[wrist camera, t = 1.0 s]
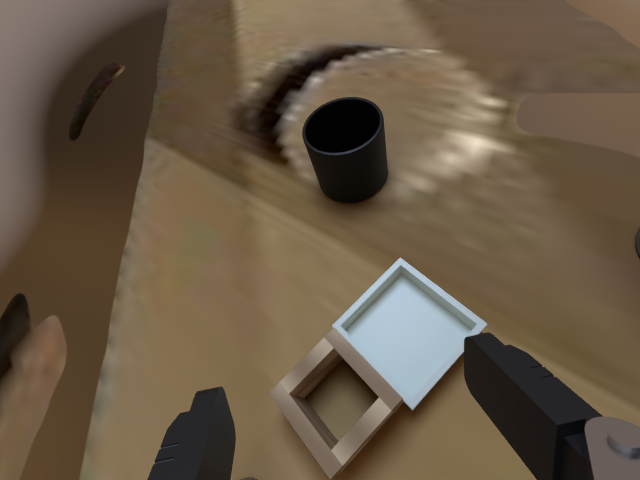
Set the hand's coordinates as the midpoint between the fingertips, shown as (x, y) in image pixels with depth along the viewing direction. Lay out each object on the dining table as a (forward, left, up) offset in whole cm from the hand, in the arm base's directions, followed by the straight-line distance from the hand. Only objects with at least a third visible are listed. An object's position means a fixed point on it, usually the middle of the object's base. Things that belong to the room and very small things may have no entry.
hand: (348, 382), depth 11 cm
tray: (-7, -4, -23) cm, 24 cm away
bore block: (+2, -4, -23) cm, 23 cm away
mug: (-19, -24, -23) cm, 38 cm away
